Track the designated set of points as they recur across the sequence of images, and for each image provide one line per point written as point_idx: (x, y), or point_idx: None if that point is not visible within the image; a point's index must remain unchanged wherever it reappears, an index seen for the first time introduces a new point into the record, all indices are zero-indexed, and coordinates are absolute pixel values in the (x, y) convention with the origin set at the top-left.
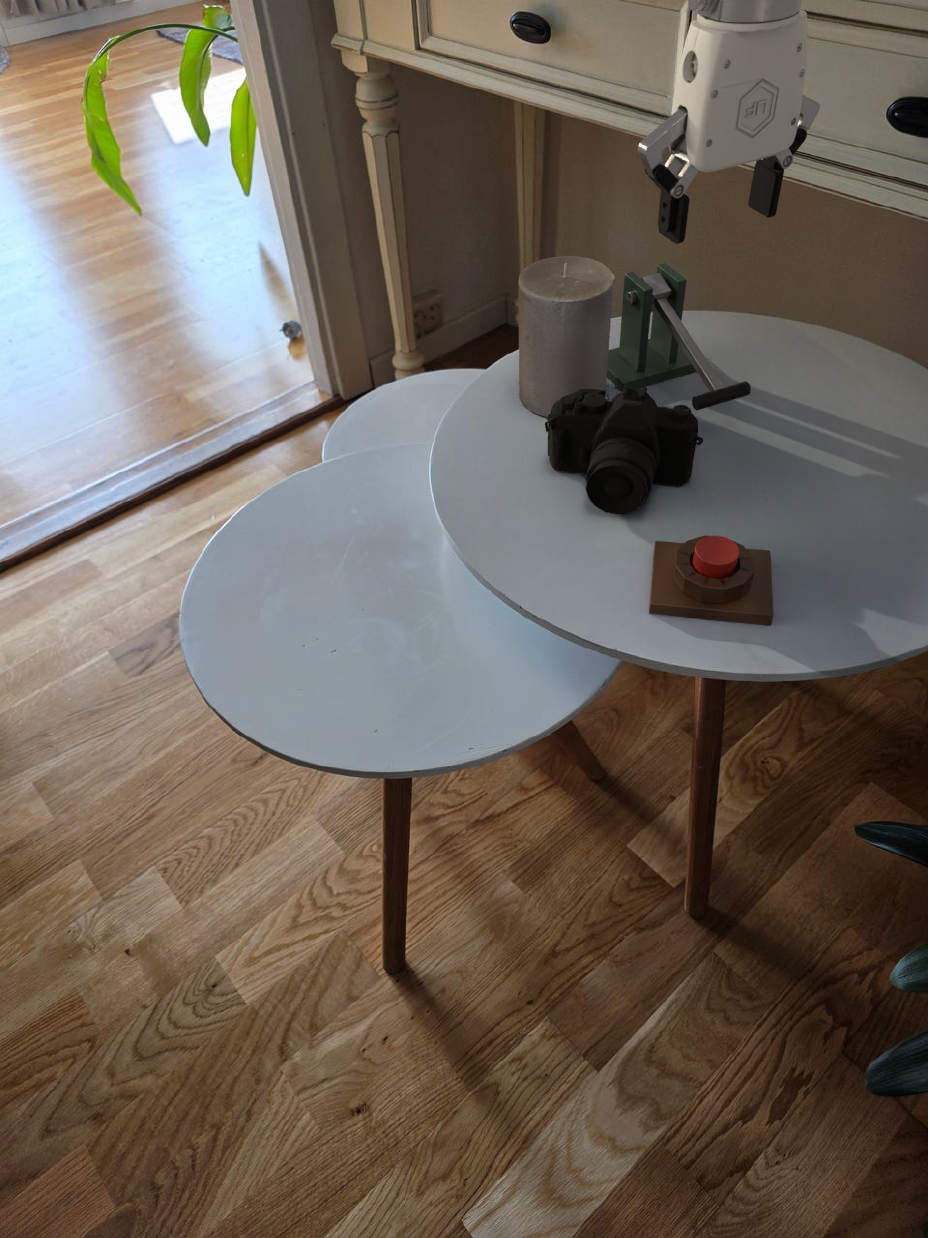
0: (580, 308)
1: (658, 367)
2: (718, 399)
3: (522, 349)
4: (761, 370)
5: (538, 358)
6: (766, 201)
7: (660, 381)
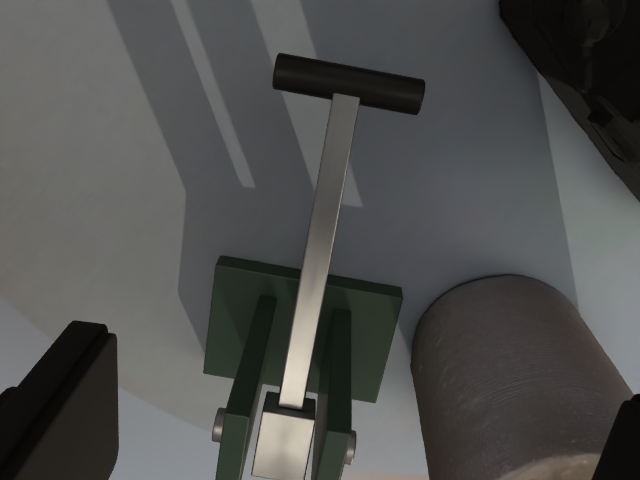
0: None
1: None
2: (371, 71)
3: None
4: (113, 181)
5: None
6: (89, 398)
7: None
